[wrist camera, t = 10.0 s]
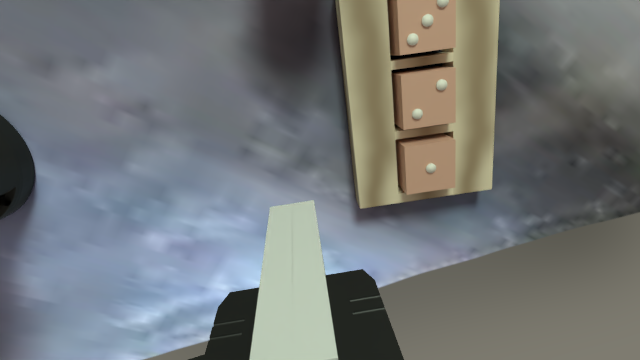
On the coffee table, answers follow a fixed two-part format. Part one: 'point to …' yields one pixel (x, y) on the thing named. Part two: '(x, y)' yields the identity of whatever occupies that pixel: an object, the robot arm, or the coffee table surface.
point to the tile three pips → (421, 25)
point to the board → (377, 98)
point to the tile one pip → (426, 163)
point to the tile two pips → (424, 97)
